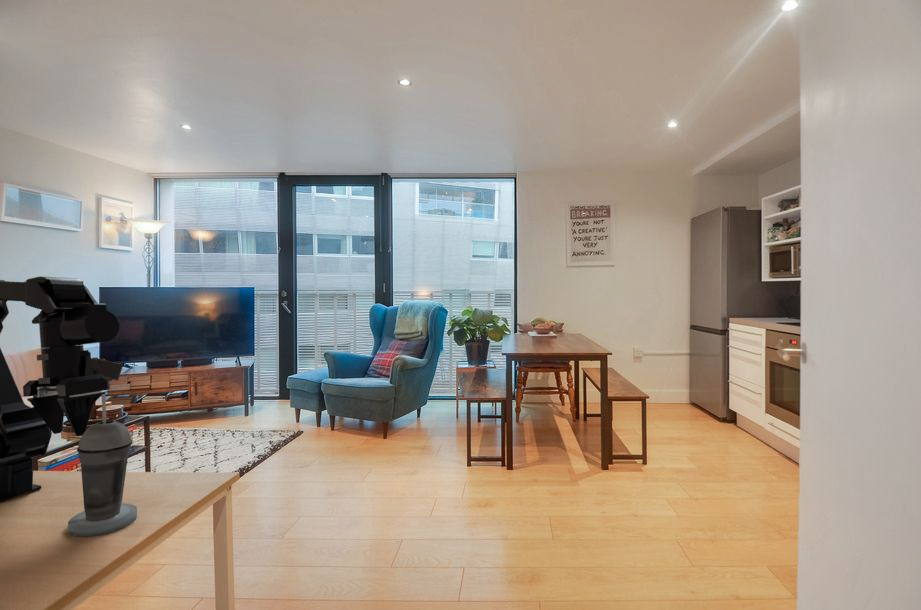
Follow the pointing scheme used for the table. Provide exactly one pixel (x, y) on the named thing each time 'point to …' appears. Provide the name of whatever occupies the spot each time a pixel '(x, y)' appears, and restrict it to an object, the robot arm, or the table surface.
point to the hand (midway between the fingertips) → (68, 434)
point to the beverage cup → (104, 466)
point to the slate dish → (102, 522)
